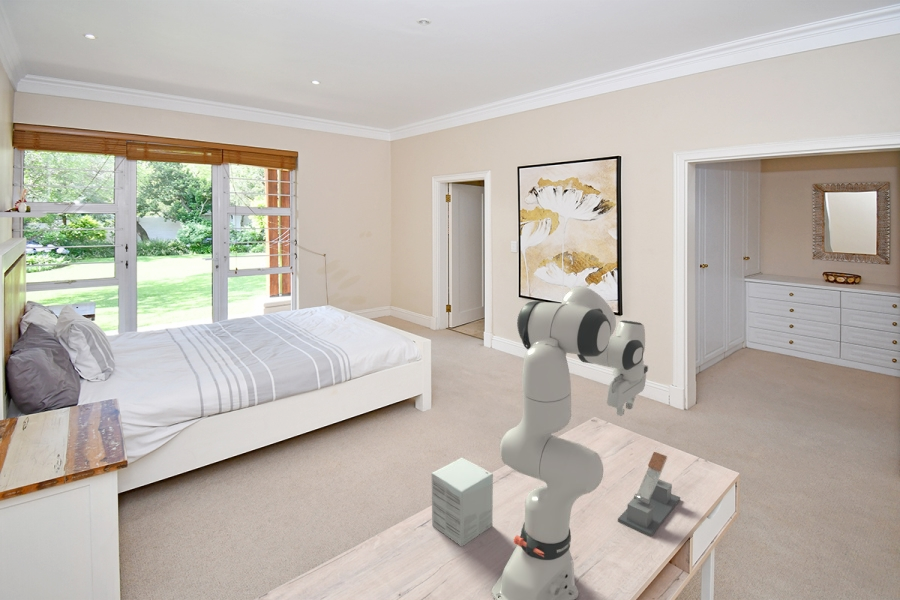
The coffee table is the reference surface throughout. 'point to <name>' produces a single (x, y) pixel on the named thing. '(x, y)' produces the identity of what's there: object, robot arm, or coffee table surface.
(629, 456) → the coffee table surface
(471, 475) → the supplement box
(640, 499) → the bar
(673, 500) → the base
